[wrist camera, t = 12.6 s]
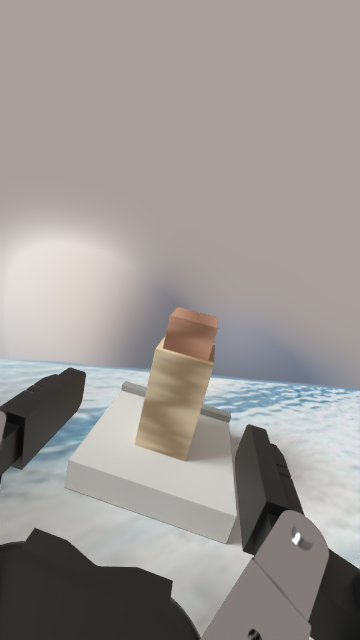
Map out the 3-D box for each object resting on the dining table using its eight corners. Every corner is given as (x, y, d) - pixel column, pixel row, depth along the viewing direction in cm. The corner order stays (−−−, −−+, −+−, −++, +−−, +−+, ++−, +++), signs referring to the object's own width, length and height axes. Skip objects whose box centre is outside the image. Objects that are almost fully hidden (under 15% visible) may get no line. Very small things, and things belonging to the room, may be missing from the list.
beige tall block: (134, 444, 22) (163, 315, 19) (149, 412, 27) (174, 305, 23) (185, 461, 21) (223, 331, 18) (191, 425, 26) (222, 317, 23)
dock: (64, 487, 20) (69, 451, 19) (120, 405, 31) (125, 381, 30) (225, 543, 18) (239, 508, 18) (222, 437, 30) (230, 412, 29)
